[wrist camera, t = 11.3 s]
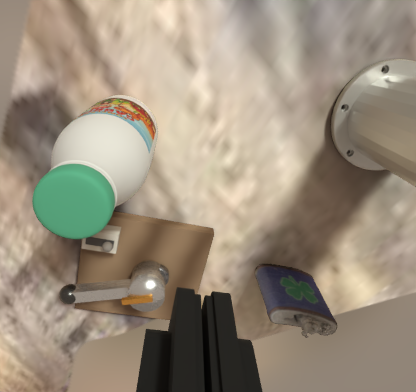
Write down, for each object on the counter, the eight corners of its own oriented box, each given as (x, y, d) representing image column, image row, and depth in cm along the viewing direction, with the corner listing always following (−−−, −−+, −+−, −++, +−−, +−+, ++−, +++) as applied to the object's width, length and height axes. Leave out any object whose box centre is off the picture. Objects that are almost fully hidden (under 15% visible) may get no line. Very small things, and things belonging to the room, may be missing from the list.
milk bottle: (169, 148, 39) (158, 238, 21) (108, 171, 40) (47, 278, 22) (140, 82, 36) (99, 123, 18) (75, 109, 37) (-29, 174, 18)
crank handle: (167, 258, 43) (165, 283, 39) (170, 285, 45) (169, 312, 41) (62, 268, 43) (48, 294, 38) (70, 295, 45) (57, 323, 40)
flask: (251, 275, 48) (270, 334, 38) (259, 258, 47) (281, 315, 37) (308, 289, 50) (340, 349, 40) (317, 274, 48) (352, 332, 39)
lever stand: (213, 228, 44) (216, 248, 40) (188, 314, 50) (189, 340, 45) (87, 206, 41) (76, 225, 37) (77, 300, 47) (67, 326, 43)
